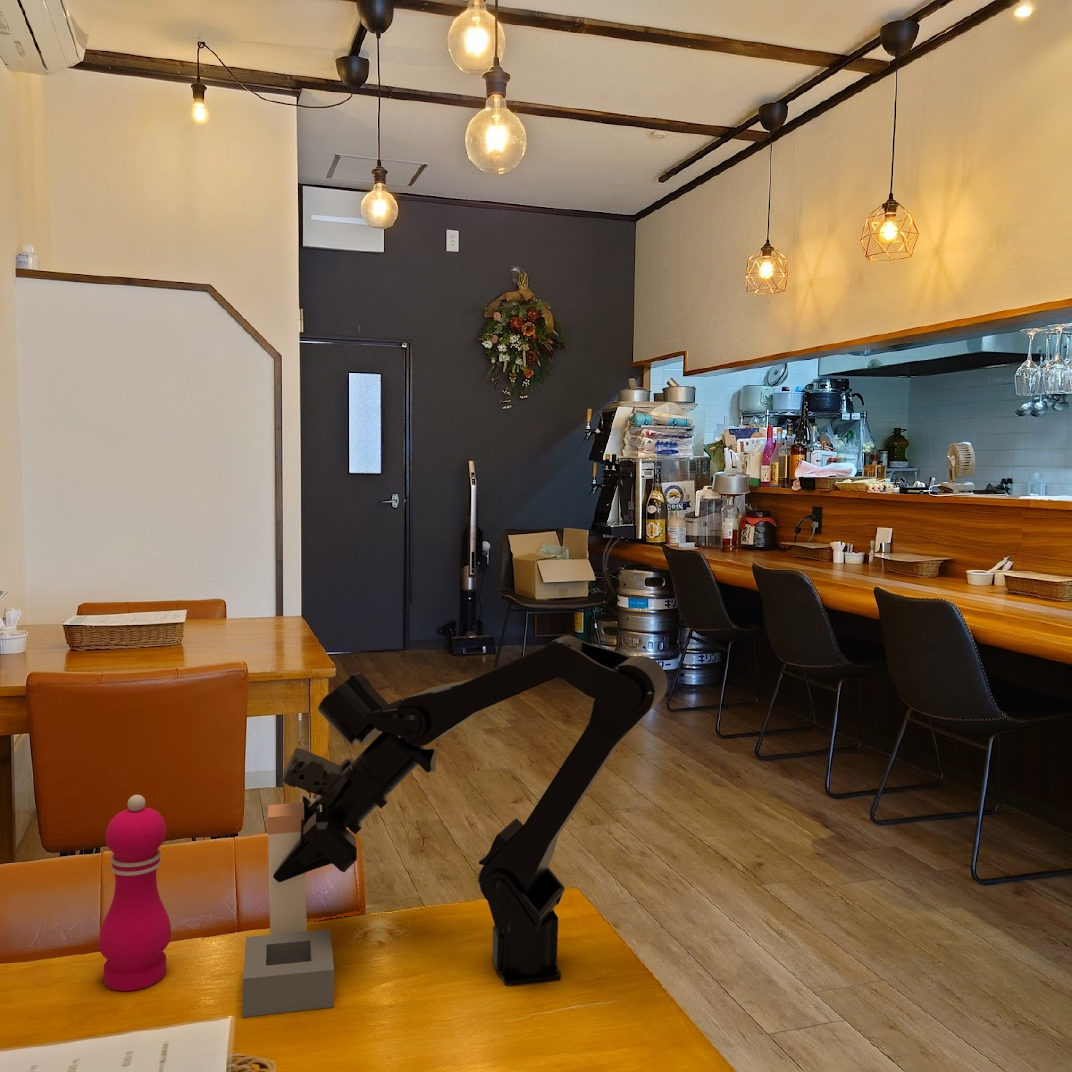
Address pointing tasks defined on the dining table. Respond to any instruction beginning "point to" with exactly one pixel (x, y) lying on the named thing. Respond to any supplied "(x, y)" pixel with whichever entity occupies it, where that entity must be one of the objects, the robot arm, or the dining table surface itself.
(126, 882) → the pepper mill
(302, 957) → the socket block
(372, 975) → the dining table surface
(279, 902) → the plug
